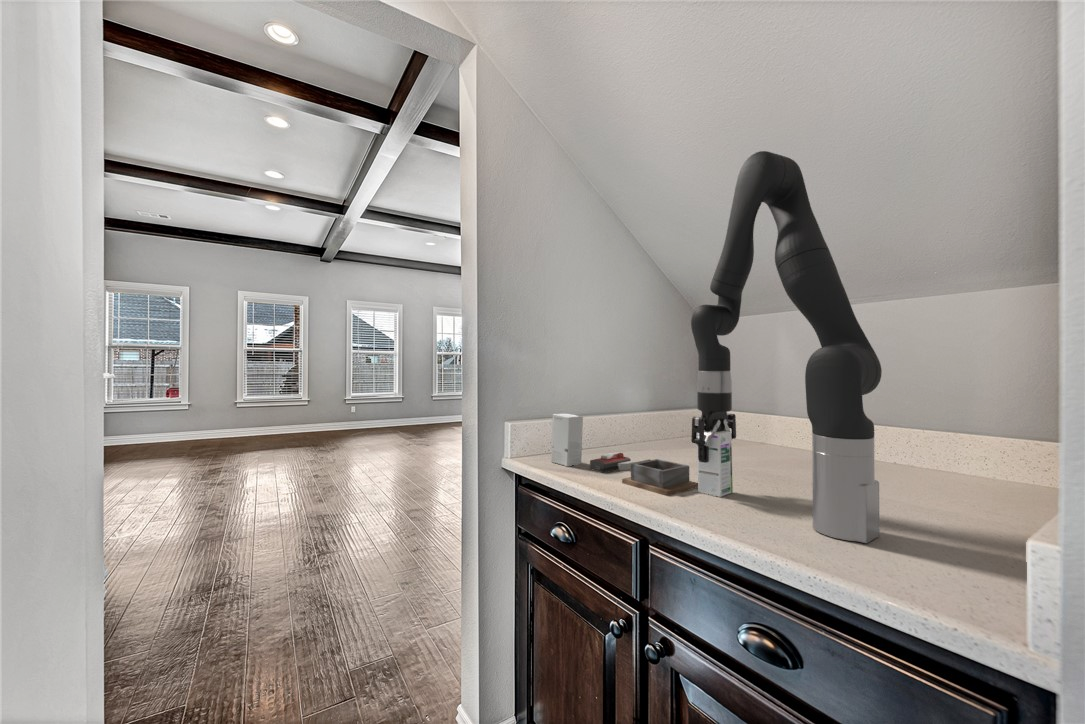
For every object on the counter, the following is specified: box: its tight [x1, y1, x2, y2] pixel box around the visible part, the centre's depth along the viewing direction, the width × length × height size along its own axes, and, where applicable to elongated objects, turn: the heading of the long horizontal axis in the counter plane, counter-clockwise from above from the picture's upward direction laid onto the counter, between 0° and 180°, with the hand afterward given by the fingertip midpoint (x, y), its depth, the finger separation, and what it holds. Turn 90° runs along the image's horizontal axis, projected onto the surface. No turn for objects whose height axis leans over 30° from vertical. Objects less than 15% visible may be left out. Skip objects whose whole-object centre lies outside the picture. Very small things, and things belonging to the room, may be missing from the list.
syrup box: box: [696, 430, 734, 498], centre depth 105 cm, size 6×6×14 cm
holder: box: [621, 458, 698, 496], centre depth 112 cm, size 14×12×5 cm
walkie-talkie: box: [589, 451, 651, 473], centre depth 132 cm, size 9×4×20 cm
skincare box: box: [550, 413, 584, 467], centre depth 137 cm, size 8×6×15 cm
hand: (714, 459), depth 105 cm, fingers open, 8 cm apart
